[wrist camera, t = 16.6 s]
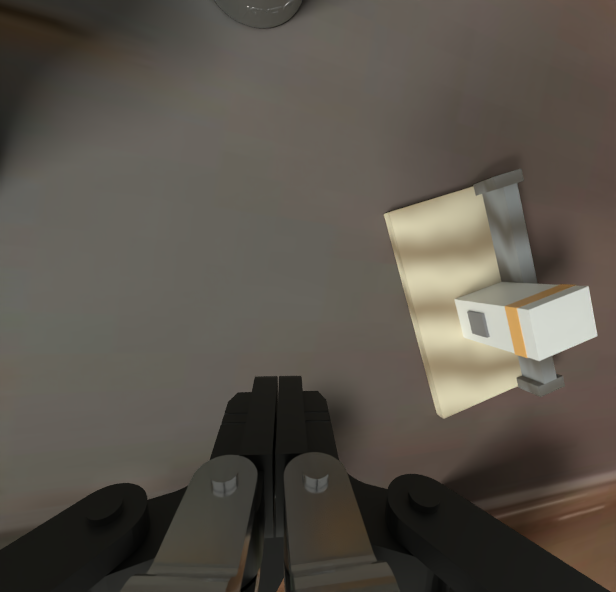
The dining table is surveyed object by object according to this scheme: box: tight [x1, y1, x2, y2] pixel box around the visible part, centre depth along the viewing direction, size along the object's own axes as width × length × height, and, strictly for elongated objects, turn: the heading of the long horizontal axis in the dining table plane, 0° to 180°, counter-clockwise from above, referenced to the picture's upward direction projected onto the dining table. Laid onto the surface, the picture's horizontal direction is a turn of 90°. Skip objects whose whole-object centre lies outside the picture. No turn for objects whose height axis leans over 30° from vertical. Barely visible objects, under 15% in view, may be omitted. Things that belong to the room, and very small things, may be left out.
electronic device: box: [258, 488, 284, 592], centre depth 27 cm, size 4×10×10 cm, turn 151°
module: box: [454, 282, 597, 361], centre depth 30 cm, size 4×6×9 cm
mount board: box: [384, 169, 565, 419], centre depth 34 cm, size 23×14×4 cm, turn 18°
